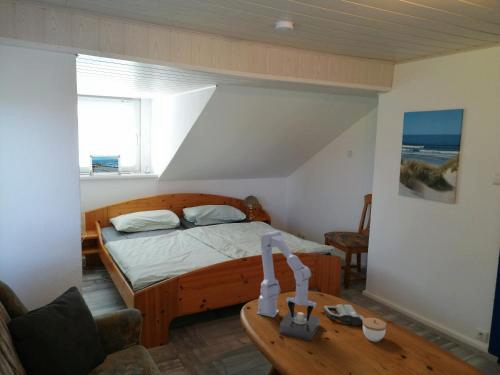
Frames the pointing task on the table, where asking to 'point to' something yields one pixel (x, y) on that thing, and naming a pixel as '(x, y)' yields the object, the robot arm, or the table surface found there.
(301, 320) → the flanged cylindrical plug
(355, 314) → the portable electronic device
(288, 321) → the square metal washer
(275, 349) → the table surface
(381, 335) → the lidded jar
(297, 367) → the table surface
